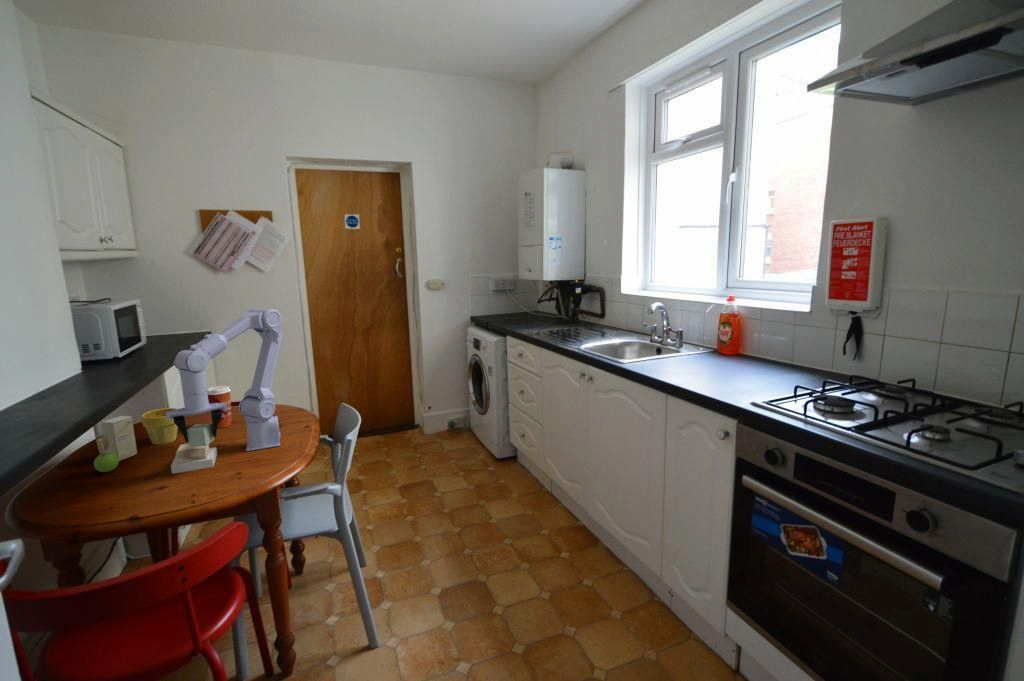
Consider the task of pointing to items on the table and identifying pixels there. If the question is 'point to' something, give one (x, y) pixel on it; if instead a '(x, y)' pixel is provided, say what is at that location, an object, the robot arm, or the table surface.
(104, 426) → the skincare box
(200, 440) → the sage block
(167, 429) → the plant pot
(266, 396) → the robot arm
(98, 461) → the snail figurine
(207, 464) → the grey base block
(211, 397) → the paper cup
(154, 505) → the table surface
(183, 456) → the beech top block
